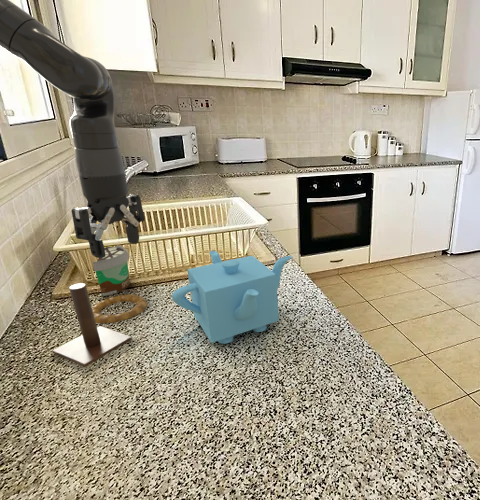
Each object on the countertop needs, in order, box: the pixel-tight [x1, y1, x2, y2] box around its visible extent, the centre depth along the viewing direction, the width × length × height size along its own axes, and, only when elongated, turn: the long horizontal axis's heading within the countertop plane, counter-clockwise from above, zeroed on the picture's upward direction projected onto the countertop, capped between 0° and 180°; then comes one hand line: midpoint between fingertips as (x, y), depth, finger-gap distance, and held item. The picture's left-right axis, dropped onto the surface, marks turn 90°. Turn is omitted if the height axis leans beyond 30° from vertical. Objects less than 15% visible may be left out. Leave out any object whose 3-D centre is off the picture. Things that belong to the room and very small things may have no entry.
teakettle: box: [171, 250, 293, 345], centre depth 77 cm, size 19×19×15 cm
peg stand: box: [51, 282, 133, 368], centre depth 68 cm, size 9×9×14 cm
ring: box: [91, 294, 148, 324], centre depth 82 cm, size 11×11×2 cm
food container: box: [92, 245, 131, 297], centre depth 91 cm, size 12×6×10 cm, turn 22°
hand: (117, 249), depth 78 cm, fingers open, 8 cm apart
